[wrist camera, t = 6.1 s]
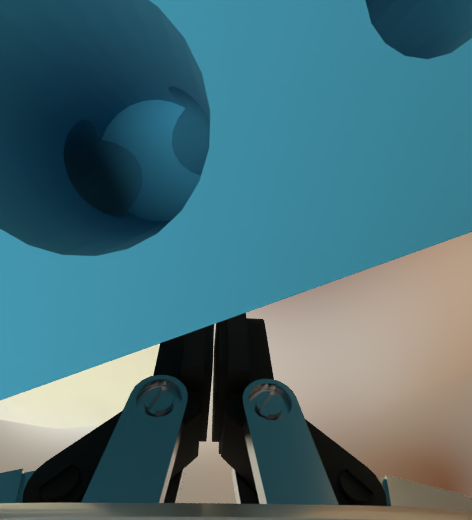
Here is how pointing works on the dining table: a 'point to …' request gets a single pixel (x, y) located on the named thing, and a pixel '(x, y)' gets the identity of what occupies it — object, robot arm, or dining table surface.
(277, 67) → the block
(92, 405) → the dining table surface
